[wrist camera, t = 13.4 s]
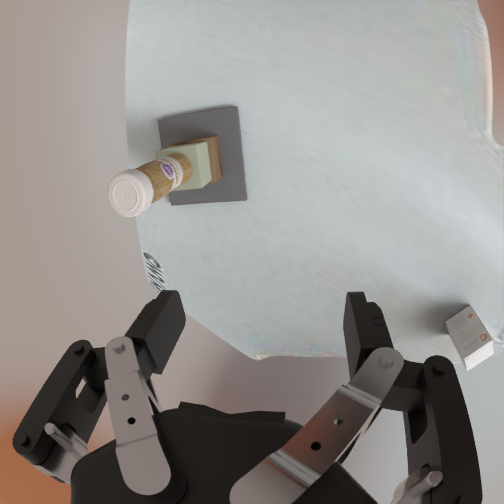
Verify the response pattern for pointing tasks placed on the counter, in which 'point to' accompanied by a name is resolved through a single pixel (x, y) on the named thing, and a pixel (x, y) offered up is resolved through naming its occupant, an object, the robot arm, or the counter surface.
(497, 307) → the counter surface
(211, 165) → the walnut base block
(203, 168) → the sage top block
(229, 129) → the slate board
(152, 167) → the sprinkles bottle
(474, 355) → the small box
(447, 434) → the robot arm
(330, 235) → the counter surface
